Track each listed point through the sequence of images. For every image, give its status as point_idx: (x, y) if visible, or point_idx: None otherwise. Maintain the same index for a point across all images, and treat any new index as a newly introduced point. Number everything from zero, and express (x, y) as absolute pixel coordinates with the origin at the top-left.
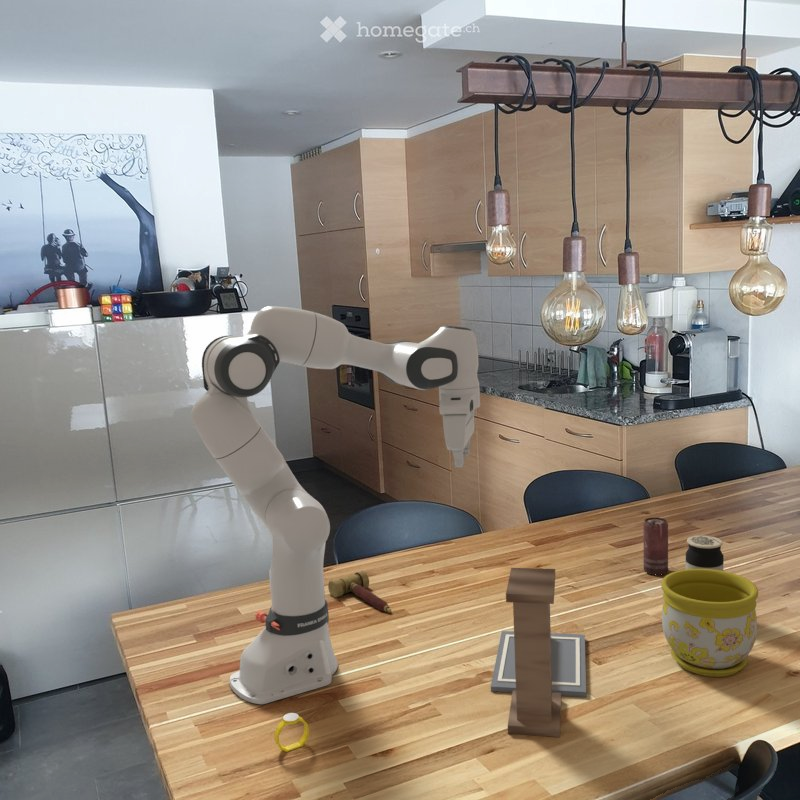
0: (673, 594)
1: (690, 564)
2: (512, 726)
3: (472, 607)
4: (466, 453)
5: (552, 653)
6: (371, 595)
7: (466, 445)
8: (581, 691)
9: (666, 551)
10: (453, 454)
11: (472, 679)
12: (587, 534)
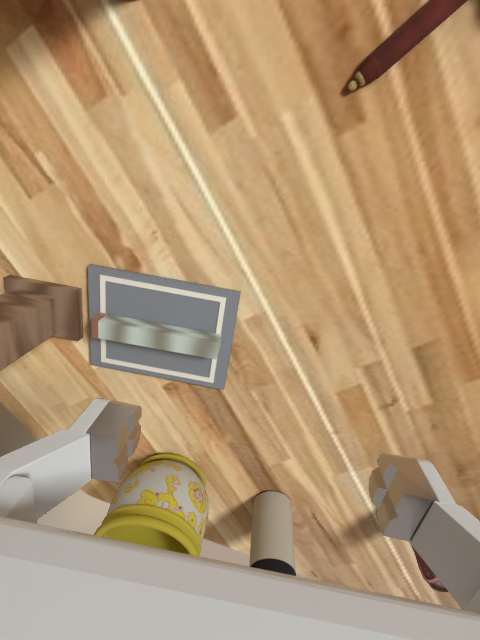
0: (113, 523)
1: (263, 558)
2: (4, 282)
3: (345, 254)
4: (381, 496)
5: None
6: (412, 27)
7: (437, 555)
8: (91, 360)
9: None
10: (3, 458)
11: (116, 242)
12: None
